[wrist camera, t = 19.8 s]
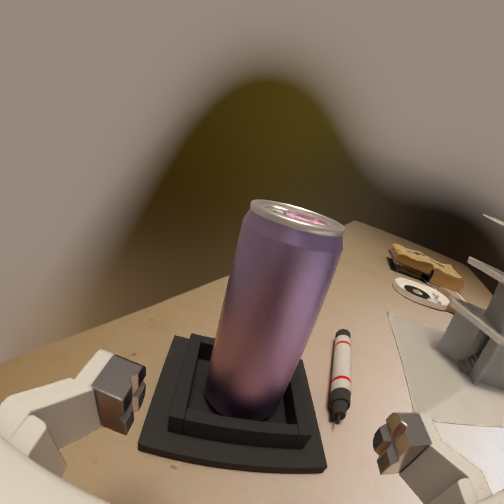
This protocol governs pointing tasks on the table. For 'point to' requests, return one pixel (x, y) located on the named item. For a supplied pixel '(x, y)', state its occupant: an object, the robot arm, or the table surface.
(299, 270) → the beverage can
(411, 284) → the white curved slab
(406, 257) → the book
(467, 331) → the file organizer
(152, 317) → the table surface
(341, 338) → the marker
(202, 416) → the dock pad
